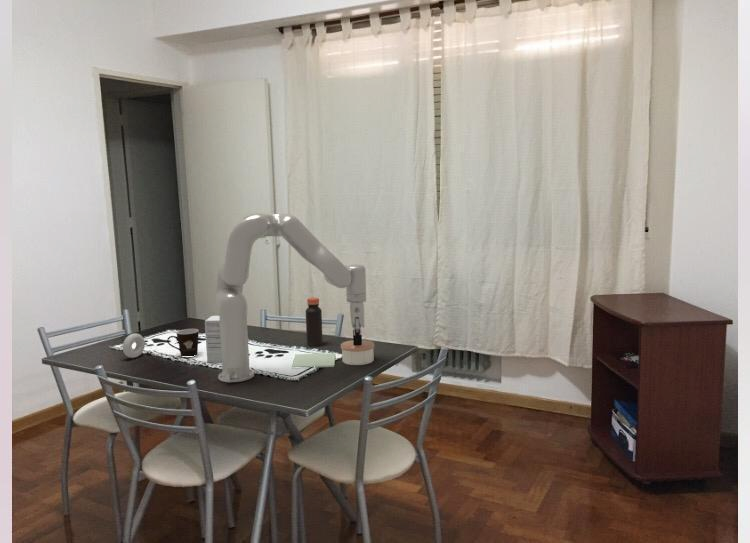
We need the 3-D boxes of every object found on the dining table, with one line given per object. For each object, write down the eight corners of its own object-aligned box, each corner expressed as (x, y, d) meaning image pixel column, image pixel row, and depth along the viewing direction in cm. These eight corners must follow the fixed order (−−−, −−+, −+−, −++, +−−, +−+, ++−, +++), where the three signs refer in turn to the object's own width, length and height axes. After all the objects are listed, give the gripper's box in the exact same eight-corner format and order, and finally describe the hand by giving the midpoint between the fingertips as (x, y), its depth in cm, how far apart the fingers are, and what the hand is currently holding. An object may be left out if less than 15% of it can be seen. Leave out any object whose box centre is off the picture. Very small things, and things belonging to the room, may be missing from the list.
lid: (375, 350, 219) (374, 335, 218) (340, 352, 219) (340, 336, 218) (373, 341, 232) (373, 327, 231) (340, 342, 232) (340, 328, 231)
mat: (334, 366, 219) (334, 365, 219) (291, 368, 218) (291, 366, 218) (335, 354, 235) (335, 353, 235) (295, 355, 234) (295, 354, 234)
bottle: (318, 347, 246) (317, 300, 243) (304, 345, 248) (302, 299, 245) (325, 342, 252) (323, 297, 249) (310, 341, 254) (309, 296, 251)
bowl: (374, 364, 221) (373, 350, 220) (342, 365, 220) (342, 351, 219) (372, 355, 232) (372, 341, 232) (342, 356, 232) (342, 343, 231)
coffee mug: (203, 352, 241) (202, 328, 240) (195, 358, 233) (193, 334, 231) (176, 352, 243) (174, 328, 241) (167, 358, 234) (165, 334, 233)
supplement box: (230, 362, 227) (228, 320, 224) (206, 363, 227) (204, 320, 224) (236, 355, 236) (233, 314, 234) (213, 355, 236) (210, 315, 234)
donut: (127, 361, 231) (125, 337, 229) (121, 360, 232) (119, 336, 231) (147, 354, 240) (145, 331, 238) (141, 353, 241) (139, 330, 240)
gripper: (367, 301, 214) (368, 348, 217) (365, 292, 231) (366, 336, 234) (346, 302, 214) (347, 349, 216) (346, 293, 231) (347, 337, 234)
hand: (357, 342), depth 225 cm, fingers open, 6 cm apart
